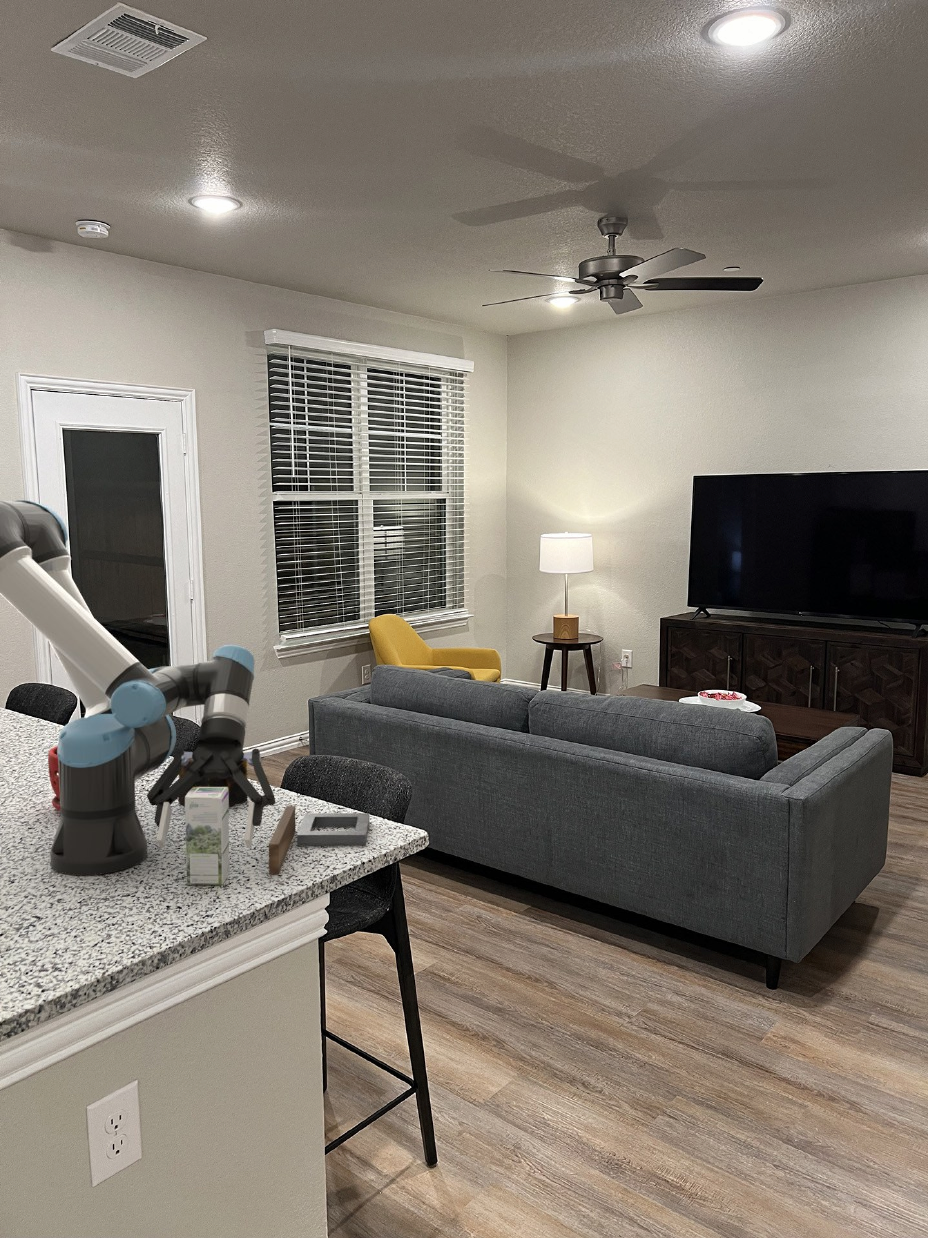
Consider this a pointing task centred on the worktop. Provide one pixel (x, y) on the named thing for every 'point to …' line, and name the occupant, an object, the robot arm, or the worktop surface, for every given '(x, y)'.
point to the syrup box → (207, 835)
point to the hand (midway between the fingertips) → (204, 844)
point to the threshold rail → (281, 840)
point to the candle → (219, 785)
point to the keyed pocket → (333, 838)
